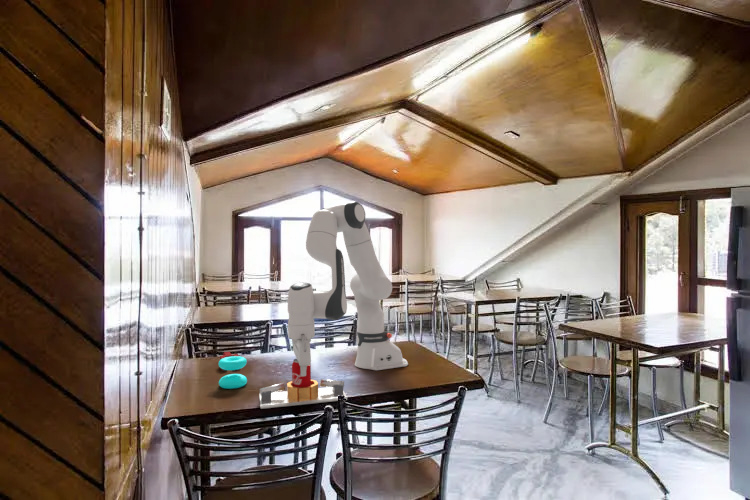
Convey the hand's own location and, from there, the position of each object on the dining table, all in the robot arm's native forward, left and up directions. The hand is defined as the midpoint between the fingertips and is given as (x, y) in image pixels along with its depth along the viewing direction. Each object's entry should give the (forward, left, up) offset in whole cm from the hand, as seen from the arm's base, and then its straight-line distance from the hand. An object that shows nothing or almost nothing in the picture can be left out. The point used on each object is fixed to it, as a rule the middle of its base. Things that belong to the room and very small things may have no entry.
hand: (301, 372), depth 159 cm
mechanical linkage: (+25, -51, -9) cm, 58 cm away
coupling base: (0, 0, -9) cm, 9 cm away
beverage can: (0, 0, -8) cm, 8 cm away
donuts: (+23, -22, -9) cm, 33 cm away
